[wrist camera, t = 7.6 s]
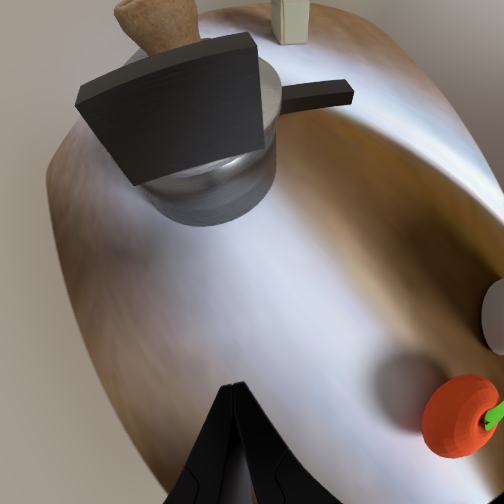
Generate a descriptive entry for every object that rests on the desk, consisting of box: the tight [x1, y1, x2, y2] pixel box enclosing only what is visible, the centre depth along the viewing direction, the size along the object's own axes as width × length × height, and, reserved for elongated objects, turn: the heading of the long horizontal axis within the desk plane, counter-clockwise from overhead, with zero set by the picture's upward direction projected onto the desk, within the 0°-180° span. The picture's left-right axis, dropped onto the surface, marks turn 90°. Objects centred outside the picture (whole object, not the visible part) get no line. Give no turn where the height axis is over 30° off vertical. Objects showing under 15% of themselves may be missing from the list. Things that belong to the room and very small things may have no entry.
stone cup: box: [114, 0, 211, 56], centre depth 26 cm, size 15×12×15 cm
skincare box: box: [271, 0, 310, 45], centre depth 30 cm, size 6×4×12 cm
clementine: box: [421, 374, 504, 459], centre depth 15 cm, size 8×7×7 cm
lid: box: [75, 32, 282, 186], centre depth 16 cm, size 14×14×8 cm
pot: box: [140, 79, 354, 227], centre depth 24 cm, size 13×20×8 cm, turn 104°
